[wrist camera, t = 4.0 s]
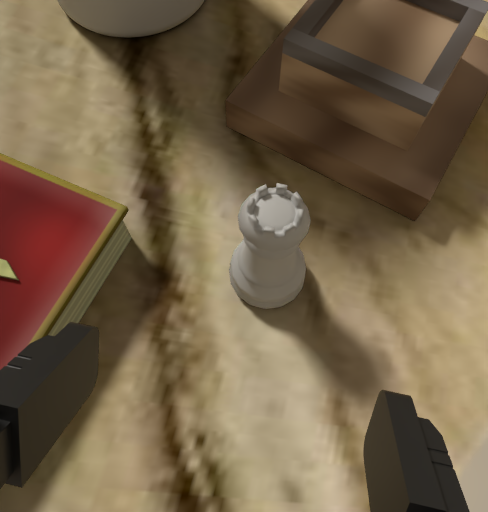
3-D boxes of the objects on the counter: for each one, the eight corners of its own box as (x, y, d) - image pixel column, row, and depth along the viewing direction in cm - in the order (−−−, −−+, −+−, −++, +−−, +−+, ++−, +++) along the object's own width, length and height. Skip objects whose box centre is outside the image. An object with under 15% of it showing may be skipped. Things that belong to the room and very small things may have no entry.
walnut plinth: (226, 126, 31) (222, 48, 25) (321, 7, 36) (337, -82, 30) (414, 220, 28) (460, 158, 22) (491, 77, 33) (545, -6, 27)
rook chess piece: (316, 259, 27) (342, 187, 20) (285, 324, 25) (302, 272, 18) (249, 230, 28) (251, 150, 21) (216, 291, 26) (205, 228, 19)
